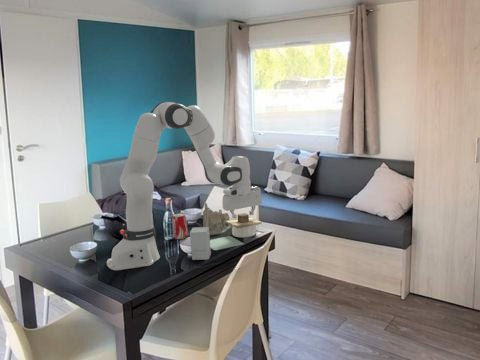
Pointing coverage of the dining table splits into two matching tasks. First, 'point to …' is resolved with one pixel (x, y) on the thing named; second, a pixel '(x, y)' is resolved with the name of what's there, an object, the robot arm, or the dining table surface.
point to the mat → (224, 243)
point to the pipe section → (244, 231)
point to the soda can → (179, 226)
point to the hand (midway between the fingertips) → (243, 216)
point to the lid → (243, 221)
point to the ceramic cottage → (215, 221)
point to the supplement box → (200, 243)
